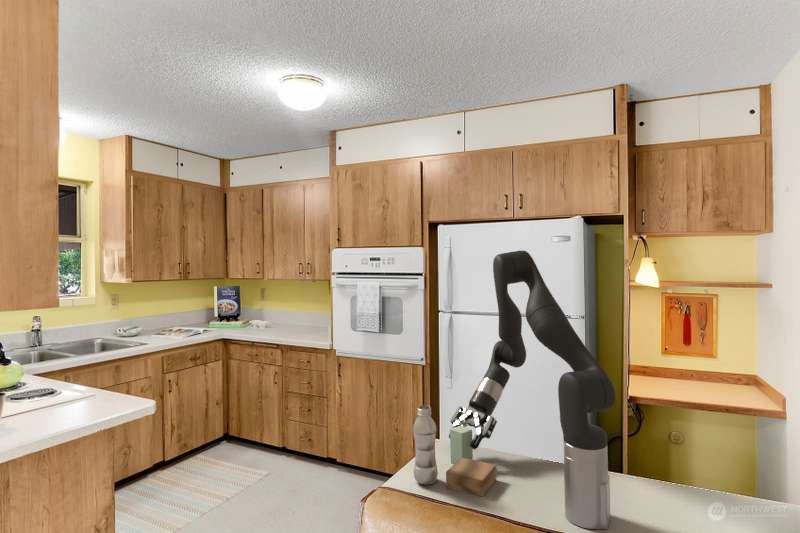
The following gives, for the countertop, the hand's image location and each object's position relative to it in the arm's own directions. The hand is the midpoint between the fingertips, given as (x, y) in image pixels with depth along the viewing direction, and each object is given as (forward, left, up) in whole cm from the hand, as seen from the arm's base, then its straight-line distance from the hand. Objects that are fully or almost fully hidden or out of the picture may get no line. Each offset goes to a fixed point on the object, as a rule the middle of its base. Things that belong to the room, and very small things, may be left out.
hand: (461, 443), depth 132 cm
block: (0, 0, -6) cm, 6 cm away
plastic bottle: (+4, +15, -6) cm, 17 cm away
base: (-7, +10, -6) cm, 14 cm away
